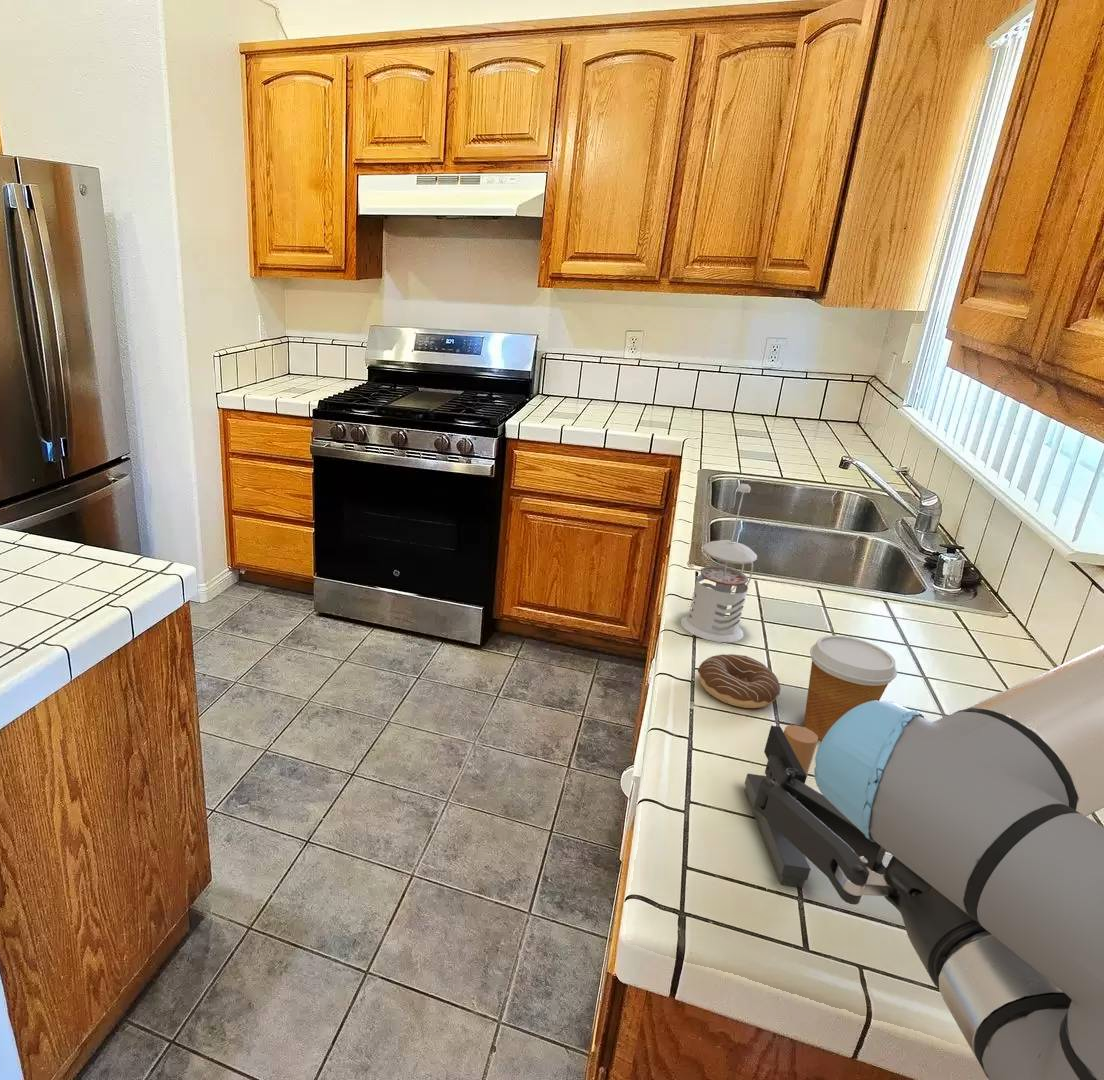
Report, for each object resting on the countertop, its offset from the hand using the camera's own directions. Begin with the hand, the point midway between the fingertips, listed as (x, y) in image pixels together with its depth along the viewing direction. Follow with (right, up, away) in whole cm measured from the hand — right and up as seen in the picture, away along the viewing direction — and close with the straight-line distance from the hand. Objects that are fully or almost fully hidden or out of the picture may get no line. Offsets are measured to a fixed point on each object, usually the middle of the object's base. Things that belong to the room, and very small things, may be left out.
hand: (857, 750), depth 64 cm
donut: (+10, -4, +43) cm, 44 cm away
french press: (+15, +3, +62) cm, 64 cm away
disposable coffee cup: (+18, -8, +35) cm, 40 cm away
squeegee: (+1, -14, +17) cm, 22 cm away
